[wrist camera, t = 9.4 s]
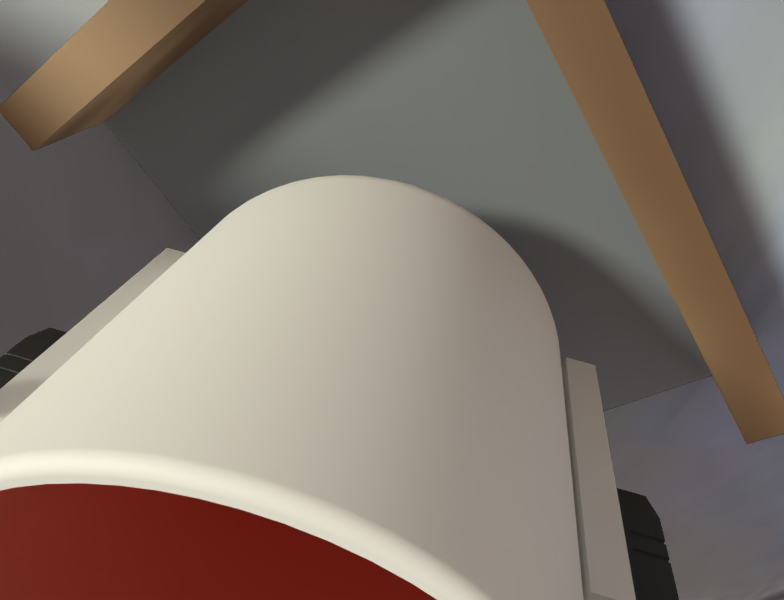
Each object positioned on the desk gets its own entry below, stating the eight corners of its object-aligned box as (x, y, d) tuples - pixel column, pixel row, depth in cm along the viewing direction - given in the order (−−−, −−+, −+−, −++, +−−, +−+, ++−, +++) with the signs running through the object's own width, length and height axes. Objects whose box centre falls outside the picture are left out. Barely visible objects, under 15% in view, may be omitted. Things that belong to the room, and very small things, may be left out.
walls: (394, 480, 23) (378, 546, 20) (74, 84, 17) (-3, 108, 15) (758, 360, 18) (797, 429, 15) (468, -274, 12) (454, -334, 9)
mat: (397, 464, 24) (394, 480, 23) (91, 79, 18) (74, 84, 17) (749, 344, 18) (758, 360, 18) (472, -261, 13) (468, -274, 12)
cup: (228, 440, 20) (15, 799, 12) (176, 145, 15) (-270, 402, 7) (531, 484, 19) (539, 934, 10) (588, 173, 13) (701, 555, 5)
